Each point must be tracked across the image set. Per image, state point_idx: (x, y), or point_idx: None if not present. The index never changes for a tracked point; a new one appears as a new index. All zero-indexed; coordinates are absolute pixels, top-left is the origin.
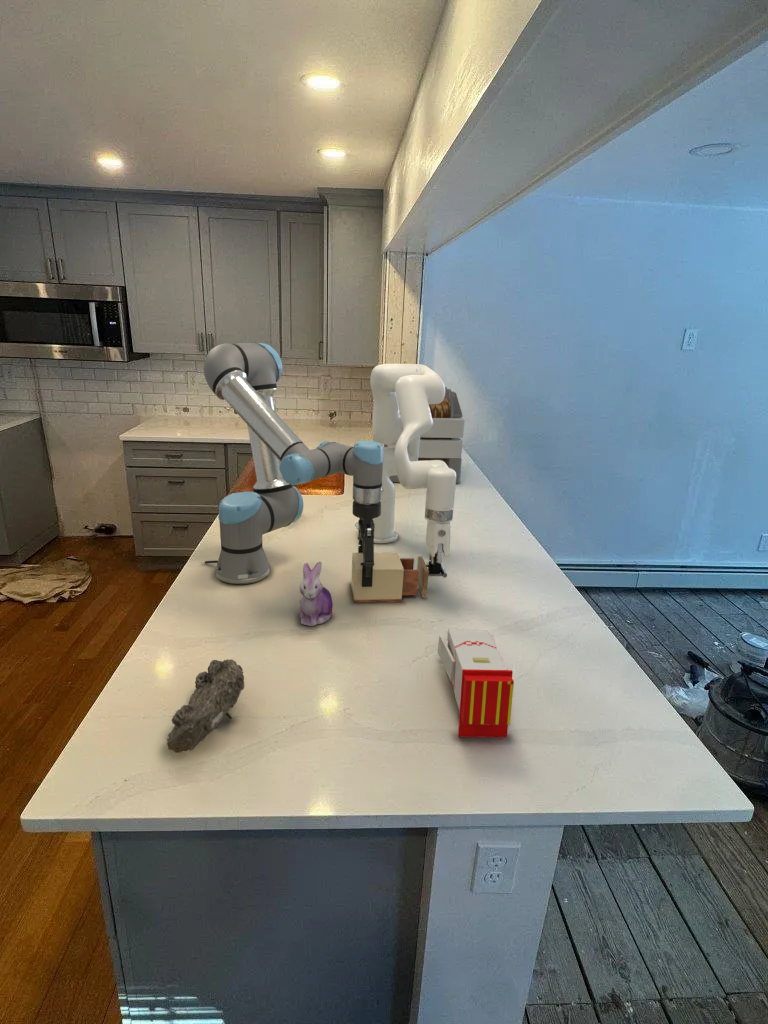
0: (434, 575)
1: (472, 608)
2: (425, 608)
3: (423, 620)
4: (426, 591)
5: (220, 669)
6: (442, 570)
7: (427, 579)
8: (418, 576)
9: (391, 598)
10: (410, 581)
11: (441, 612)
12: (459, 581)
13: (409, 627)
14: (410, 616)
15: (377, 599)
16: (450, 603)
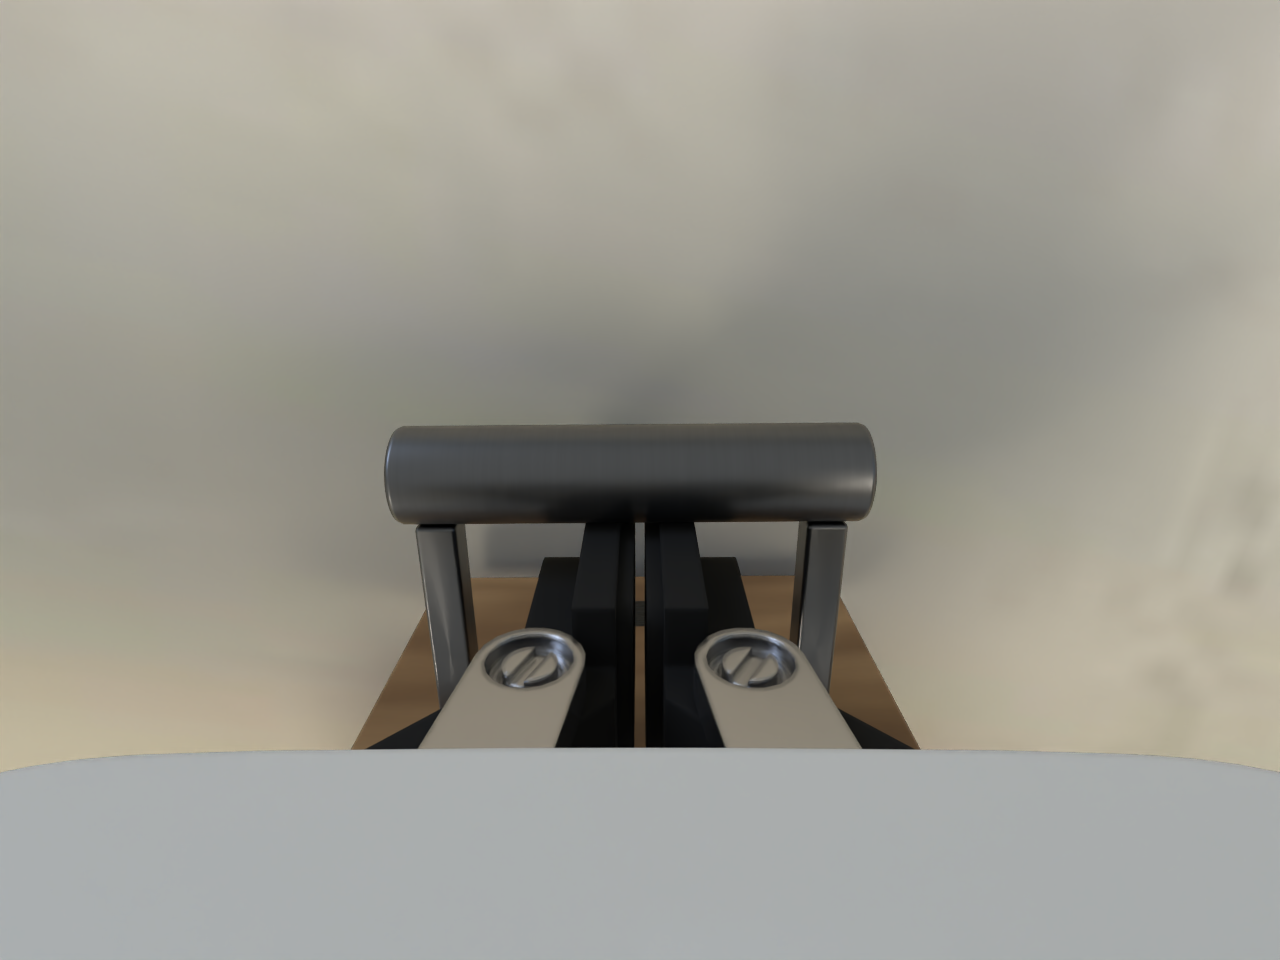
0: (828, 637)
1: (1125, 39)
2: (980, 594)
3: (1189, 647)
4: (851, 622)
5: None
6: (741, 510)
7: (908, 736)
8: None
9: None
10: None
11: (1101, 458)
12: (325, 14)
13: (1254, 764)
14: (1085, 733)
15: None
16: (935, 312)
